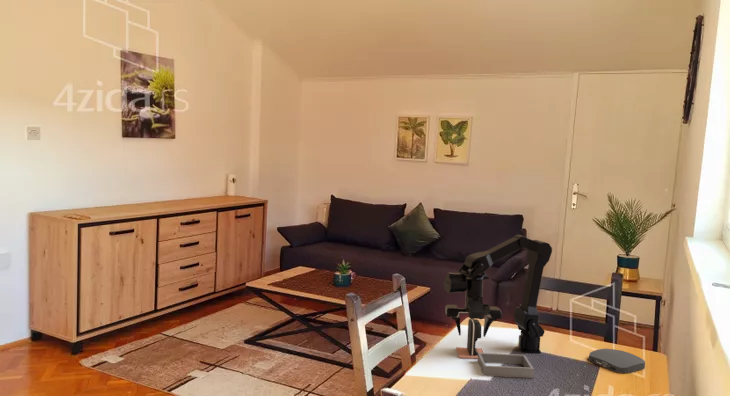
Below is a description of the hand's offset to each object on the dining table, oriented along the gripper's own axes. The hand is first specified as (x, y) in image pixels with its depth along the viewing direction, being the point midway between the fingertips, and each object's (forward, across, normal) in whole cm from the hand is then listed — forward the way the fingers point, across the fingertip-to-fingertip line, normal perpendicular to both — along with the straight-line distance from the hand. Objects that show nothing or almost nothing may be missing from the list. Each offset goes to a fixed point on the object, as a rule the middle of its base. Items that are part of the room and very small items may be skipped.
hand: (471, 335), depth 186 cm
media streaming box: (+7, +49, -2) cm, 50 cm away
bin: (+7, +9, -12) cm, 16 cm away
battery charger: (+6, +1, 0) cm, 6 cm away
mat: (+7, 0, 0) cm, 7 cm away
